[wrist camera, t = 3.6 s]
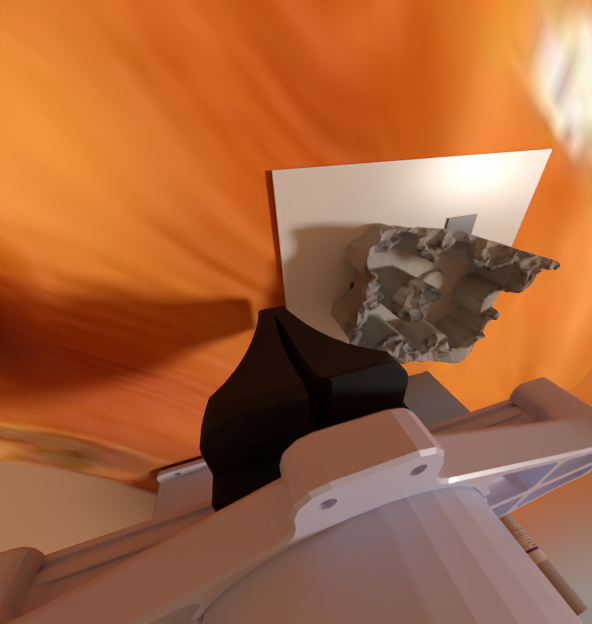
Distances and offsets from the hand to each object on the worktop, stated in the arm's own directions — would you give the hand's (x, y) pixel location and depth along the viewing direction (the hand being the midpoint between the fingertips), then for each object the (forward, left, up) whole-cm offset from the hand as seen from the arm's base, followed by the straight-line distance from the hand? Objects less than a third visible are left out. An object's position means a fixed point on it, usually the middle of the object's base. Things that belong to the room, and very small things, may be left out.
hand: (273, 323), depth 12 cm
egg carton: (+9, 0, -1) cm, 9 cm away
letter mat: (+9, 0, -1) cm, 9 cm away
